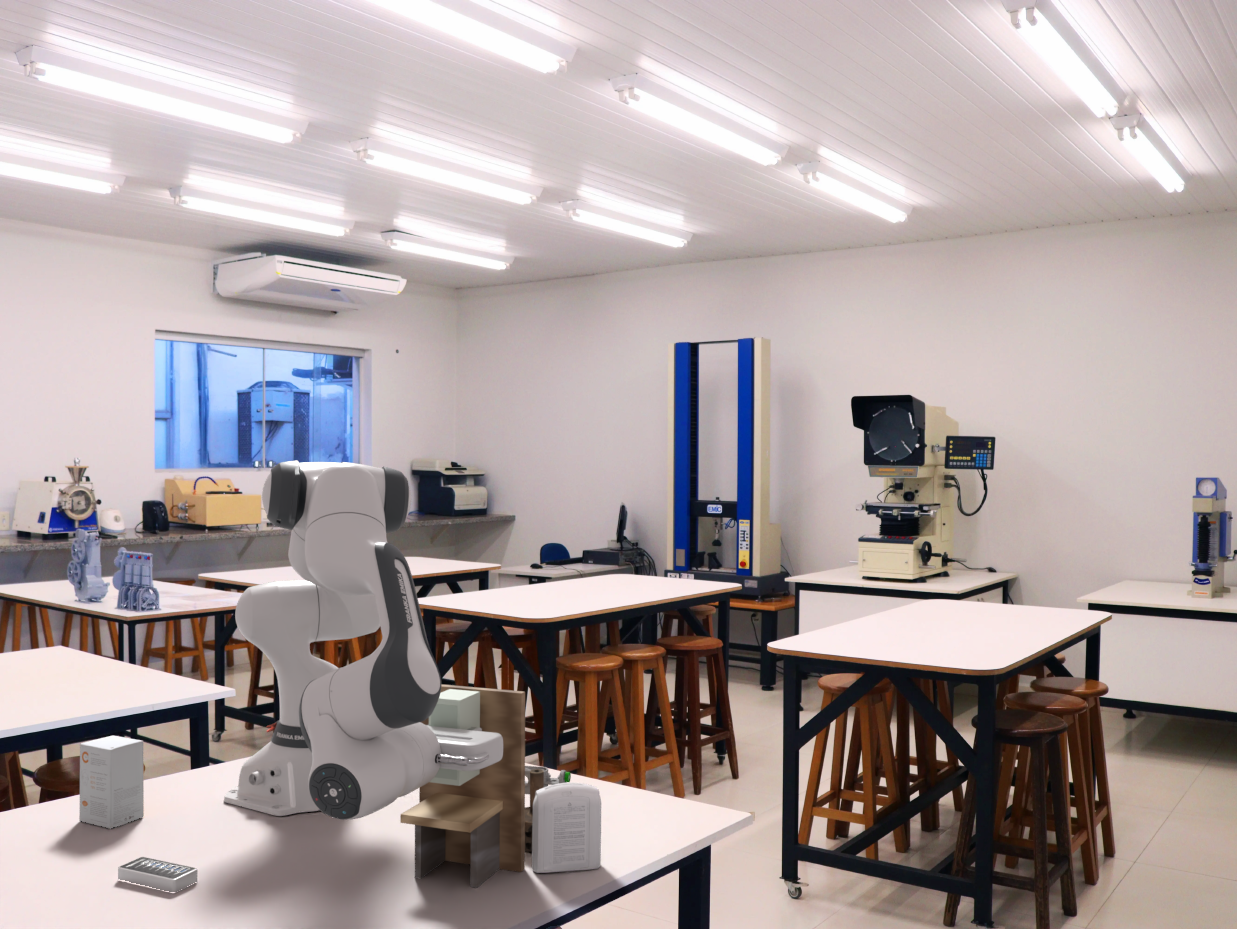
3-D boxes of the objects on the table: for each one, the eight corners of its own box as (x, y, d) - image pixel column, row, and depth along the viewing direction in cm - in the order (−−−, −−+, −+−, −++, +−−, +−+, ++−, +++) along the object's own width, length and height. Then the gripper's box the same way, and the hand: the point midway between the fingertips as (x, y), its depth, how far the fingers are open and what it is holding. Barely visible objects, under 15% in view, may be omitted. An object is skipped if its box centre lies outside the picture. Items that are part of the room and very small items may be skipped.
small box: (144, 817, 167) (144, 740, 167) (110, 830, 161) (110, 749, 161) (112, 810, 170) (113, 734, 170) (78, 821, 165) (78, 743, 165)
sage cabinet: (428, 782, 141) (428, 697, 141) (449, 770, 147) (449, 689, 147) (459, 786, 139) (459, 700, 139) (479, 773, 145) (480, 691, 145)
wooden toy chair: (381, 882, 141) (382, 698, 141) (423, 853, 151) (423, 682, 151) (489, 900, 135) (489, 708, 135) (524, 869, 145) (525, 691, 146)
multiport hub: (174, 896, 137) (174, 880, 137) (116, 883, 141) (116, 867, 141) (198, 884, 141) (199, 867, 141) (142, 871, 145) (142, 855, 145)
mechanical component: (567, 836, 159) (567, 773, 159) (505, 831, 161) (505, 769, 161) (571, 829, 161) (571, 768, 162) (511, 825, 164) (511, 764, 164)
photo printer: (597, 859, 149) (598, 776, 149) (604, 870, 145) (604, 785, 145) (529, 865, 147) (530, 781, 147) (534, 876, 143) (534, 790, 143)
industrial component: (511, 840, 157) (511, 764, 157) (556, 837, 158) (557, 762, 158) (516, 863, 148) (516, 782, 148) (564, 860, 149) (564, 780, 149)
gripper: (476, 739, 128) (522, 715, 141) (341, 725, 134) (397, 703, 147) (476, 789, 127) (522, 759, 140) (341, 772, 134) (397, 745, 147)
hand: (457, 730), depth 144 cm, fingers closed on sage cabinet, 5 cm apart
